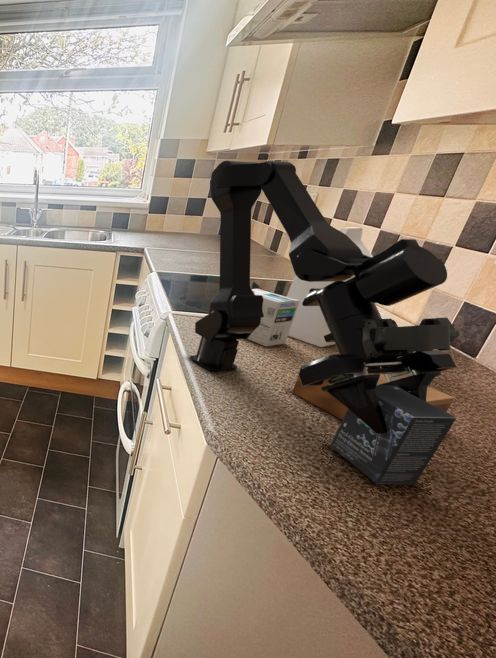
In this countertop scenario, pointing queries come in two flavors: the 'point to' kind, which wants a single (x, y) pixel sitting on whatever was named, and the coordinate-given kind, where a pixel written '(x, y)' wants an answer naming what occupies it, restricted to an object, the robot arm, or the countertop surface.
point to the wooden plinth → (339, 410)
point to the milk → (310, 318)
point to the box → (394, 437)
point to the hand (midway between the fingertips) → (401, 431)
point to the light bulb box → (274, 318)
